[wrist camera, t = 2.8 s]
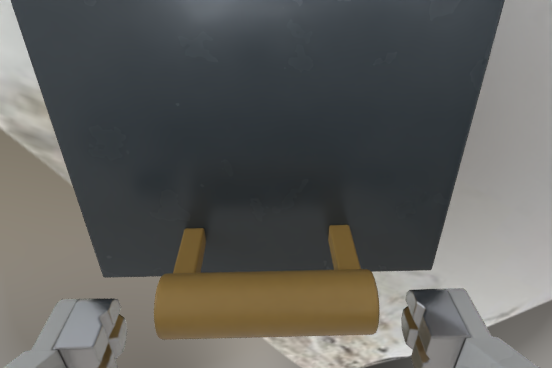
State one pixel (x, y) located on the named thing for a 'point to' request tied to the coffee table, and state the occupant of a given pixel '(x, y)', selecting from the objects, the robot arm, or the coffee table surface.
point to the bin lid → (261, 147)
